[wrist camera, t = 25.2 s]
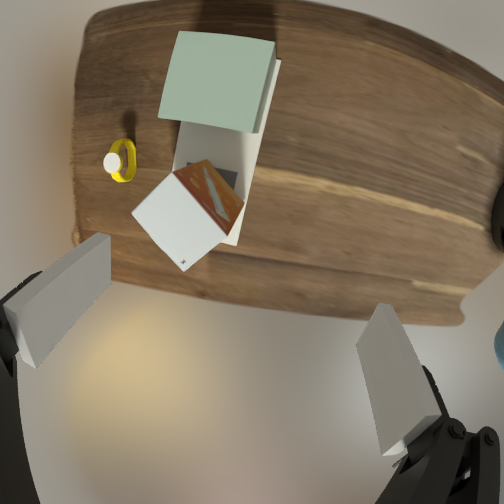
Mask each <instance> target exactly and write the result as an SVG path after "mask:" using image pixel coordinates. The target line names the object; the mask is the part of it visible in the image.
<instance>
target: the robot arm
mask: <svg viewBox="0 0 504 504" xmlns="http://www.w3.org/2000/svg"><path fill="white" fill-rule="evenodd" d="M492 234H493V238H494V241H495V244H496V245H497V247H498V248H499V249H500V250H501V251H502V252H504V184H503V186H502V187H501V189H500V191H499V193H498V195H497V198H496V200H495V204H494V208H493V213H492ZM110 237H111V235H107V234H103V233H100V232H97V233H96V234H94V235H93V236H91V237H90V238H88V239H87V240H86V241H84V242H83V243H81V244H80V245H78V246H77V247H76V248H74V249H73V250H71V251H70V252H69V253H67V254H66V255H64V256H63V257H62V258H60V259H59V260H58V261H56V262H55V263H54V264H52V265H51V266H50V267H48V268H47V269H46V270H44V271H40V272H37V273H35V274H32V275H30V276H29V277H28V278H27V279H25V280H24V281H23V283H22V282H21V283H20V284H19V285H18V286H17V288H14V289H13V290H12V291H10V292H9V293H8V294H7V295H6V296H5V297H3V298H2V299H1V300H0V504H40V501H39V498H38V495H37V492H36V488H35V485H34V482H33V478H32V474H31V471H30V467H29V462H28V458H27V453H26V448H25V443H24V438H23V431H22V424H21V417H20V408H19V398H18V385H17V384H18V383H17V360H16V357H15V354H16V353H17V352H18V351H19V352H20V354H21V356H22V359H23V361H24V362H26V363H27V364H29V365H31V366H32V367H34V368H35V369H37V368H38V367H39V365H40V364H41V363H42V362H43V360H44V359H45V358H46V357H47V356H48V354H49V353H50V352H51V351H52V349H53V348H54V347H55V346H56V345H57V343H58V342H59V341H60V340H61V339H62V338H63V336H64V335H65V334H66V333H67V332H68V330H69V329H70V328H71V327H72V326H73V325H74V324H75V322H76V321H77V320H78V319H79V318H80V317H81V316H82V315H83V313H84V312H85V311H86V310H87V309H88V308H89V307H90V306H91V305H92V304H93V302H94V301H95V300H96V299H97V298H98V297H99V296H100V295H101V294H102V293H103V292H104V291H105V290H106V289H107V287H108V286H109V285H110V284H111V261H110ZM356 347H357V351H358V354H359V358H360V361H361V365H362V369H363V373H364V377H365V381H366V385H367V389H368V393H369V398H370V402H371V406H372V411H373V415H374V419H375V424H376V429H377V434H378V439H379V444H380V449H381V455H382V456H383V455H395V454H398V453H400V452H401V451H402V450H403V449H404V448H406V447H407V450H408V454H406V455H405V456H404V457H402V458H401V459H400V460H399V461H397V462H396V463H395V464H394V465H393V466H392V467H396V466H397V465H398V464H399V466H398V468H397V470H396V471H395V473H394V475H393V476H392V478H391V480H390V481H389V483H388V485H387V486H386V488H385V489H384V491H383V493H382V494H381V495H380V497H379V498H378V500H377V501H376V503H375V504H499V493H500V443H499V438H498V435H497V433H496V431H494V429H492V428H490V427H487V426H486V427H483V428H482V429H481V430H480V431H479V432H478V433H476V434H475V433H470V432H467V431H466V428H465V427H464V425H463V424H462V423H461V422H460V421H459V420H457V419H455V418H450V417H449V414H448V412H447V409H446V407H445V404H444V402H443V399H442V397H441V395H440V393H439V392H438V391H439V390H438V388H437V386H436V385H435V381H434V379H433V377H432V374H431V373H430V372H429V371H428V369H427V368H426V367H425V366H423V365H421V364H420V361H419V359H418V357H417V355H416V353H415V351H414V349H413V346H412V344H411V342H410V340H409V338H408V336H407V334H406V332H405V330H404V328H403V326H402V324H401V322H400V320H399V318H398V316H397V314H396V312H395V311H394V309H393V307H392V305H389V304H384V303H378V305H377V307H376V309H375V311H374V313H373V315H372V317H371V318H370V320H369V322H368V324H367V326H366V328H365V329H364V331H363V333H362V335H361V337H360V338H359V340H358V342H357V344H356ZM494 348H495V353H496V356H497V359H498V362H499V364H500V366H501V367H502V370H503V371H504V322H503V323H502V325H501V327H500V328H499V330H498V331H497V333H496V336H495V341H494ZM470 470H471V472H470V477H468V478H466V479H465V478H464V476H465V474H466V473H467V472H468V471H470Z"/></svg>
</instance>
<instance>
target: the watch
mask: <svg viewBox="0 0 504 504" xmlns="http://www.w3.org/2000/svg"><path fill="white" fill-rule="evenodd" d="M122 144H125V146H126V148H127V151H128V170H127V173H126V175H125V176H124V178H123V177H122V176H121V174H120V169H121V168H122V165H123V160H122V157H121V155H120V154H119V149H120V147H121V145H122ZM103 164H104V168H105V170H106V171H107V172H109V173H111V175H112V178H113V179H114V180H116V181H117V182H127V181H130V180H131V179H132V178H133V176H134V175H135V172H136V168H137V164H136V147H135V145H134V143H133V142H132V141H131V140H130V139H128V138H127V139H120V140H116V141H115V142H114V144H113V145H112V146H111V149H110V152H109V153H108V154H107V155H106V156H105V158H104V163H103Z"/></svg>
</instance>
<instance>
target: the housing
mask: <svg viewBox="0 0 504 504" xmlns="http://www.w3.org/2000/svg"><path fill="white" fill-rule="evenodd" d="M275 66H276V49H275V42H272V41H266V40H261V39H255V38H249V37H242V36H234V35H226V34H216V33H204V32H186V31H179V33H178V37H177V40H176V44H175V47H174V51H173V54H172V58H171V62H170V65H169V69H168V73H167V77H166V82H165V86H164V90H163V95H162V99H161V104H160V109H159V114H158V118H165V119H173V120H180V121H187V122H193V123H200V124H206V125H211V126H217V127H222V128H228V129H233V130H238V131H243V132H247V133H252V134H254V133H259V130H260V126H261V122H262V118H263V114H264V110H265V106H266V102H267V98H268V94H269V90H270V86H271V82H272V78H273V74H274V70H275Z"/></svg>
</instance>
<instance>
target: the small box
mask: <svg viewBox="0 0 504 504" xmlns="http://www.w3.org/2000/svg"><path fill="white" fill-rule="evenodd" d="M244 204H245V203H244V201H243V200H242V199H241V198H240V197H239V196H238V195H237V194H236V193H235V191H234V190H233V189H232V188H231V187H230V186H229V185H228V183H227V182H226V181H225V180H224V179H223V178H222V176H221V175H220V174H219V173H218V172H217V170H216V169H215V168H214V167H213V166H212V164H211V163H210V162H209V161H208V160H207V159H205V160H202V161H199V162H196V163H194V164H191V165H188V166H186V167H183V168H181V169H178V170H175V171H173V172H171V173H170V174H169V175H168V176H167V177H166V178H165V179H164V180H163V181H162V182H161V183H160V184H159V185H158V186H157V187H156V188H155V189H153V190H152V191H151V192H150V193H149V194H148V195H147V196H146V197H145V198H144V199H143V201H142V202H141V203H140V204H139V205H138V206H137V207H136V208H135V209H134V210H133V211H132V215H133V216H134V217H135V219H136V220H137V221H138V222H139V223H140V225H141V226H142V227H143V228H144V229H145V230H146V232H147V233H148V234H149V235H150V236H151V238H152V239H153V240H154V241H155V243H156V244H157V245H158V246H159V247H160V248H161V249H162V250H163V251H164V252H165V253H166V254H167V255H168V256H169V257H170V258H171V259H172V260H173V261H174V262H175V263H176V264H177V266H178V267H179V268H180V269H181V270H182V271H186V270H187V269H188V268H189V267H190V266H191V265H193V264H194V263H195V262H196V261H198V260H199V259H200V258H201V257H202V256H204V255H205V254H206V253H207V252H209V251H210V250H211V249H212V248H214V247H215V246H216V245H217V244H219V243H220V242H221V241H222V240H224V239H225V238H227V237H228V235H229V233H230V231H231V229H232V227H233V226H234V224H235V222H236V220H237V218H238V216H239V214H240V212H241V210H242V208H243V206H244Z"/></svg>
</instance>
